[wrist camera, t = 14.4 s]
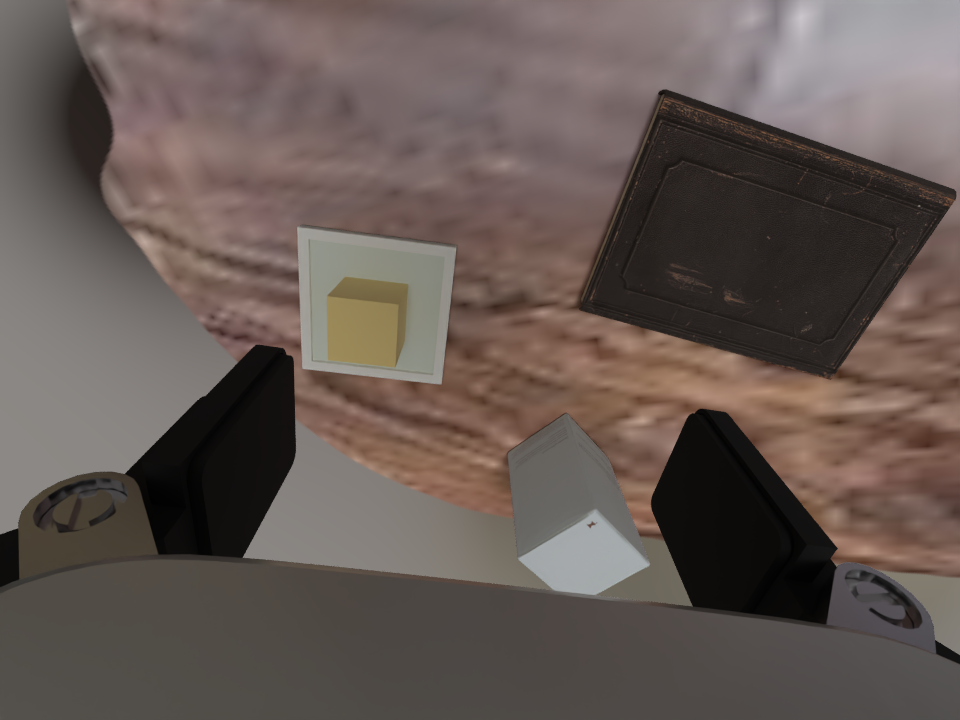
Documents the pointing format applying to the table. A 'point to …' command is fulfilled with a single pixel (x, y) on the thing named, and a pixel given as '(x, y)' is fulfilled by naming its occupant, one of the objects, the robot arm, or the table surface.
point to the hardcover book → (758, 238)
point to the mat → (384, 260)
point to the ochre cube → (366, 321)
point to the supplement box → (571, 512)
